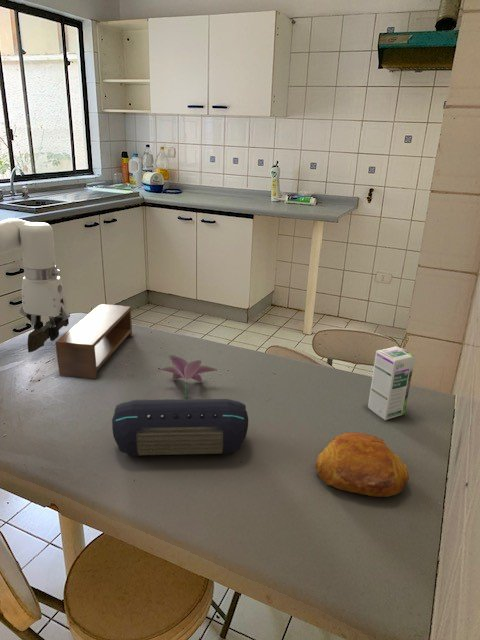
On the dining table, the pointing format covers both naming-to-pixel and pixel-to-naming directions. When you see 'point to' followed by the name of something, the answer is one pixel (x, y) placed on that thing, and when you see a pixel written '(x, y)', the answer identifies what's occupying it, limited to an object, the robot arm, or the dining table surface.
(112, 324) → the shelf stand
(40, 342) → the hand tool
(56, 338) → the robot arm
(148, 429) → the portable speaker
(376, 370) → the syrup box
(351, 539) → the dining table surface
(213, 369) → the lily
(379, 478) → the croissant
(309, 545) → the dining table surface
